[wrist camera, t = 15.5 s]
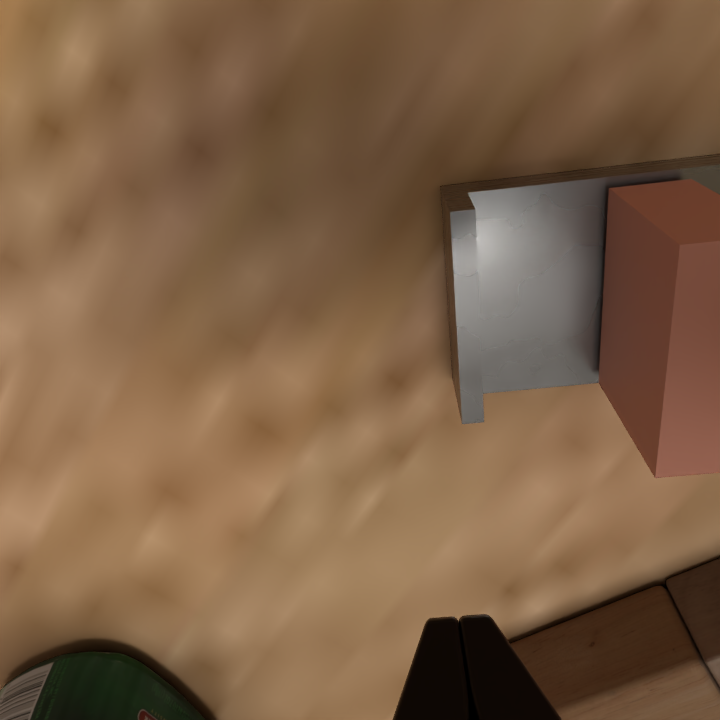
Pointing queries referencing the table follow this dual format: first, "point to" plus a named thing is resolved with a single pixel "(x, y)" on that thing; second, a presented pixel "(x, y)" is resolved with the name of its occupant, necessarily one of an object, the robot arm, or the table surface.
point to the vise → (535, 274)
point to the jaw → (664, 323)
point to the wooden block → (636, 655)
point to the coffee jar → (92, 691)
